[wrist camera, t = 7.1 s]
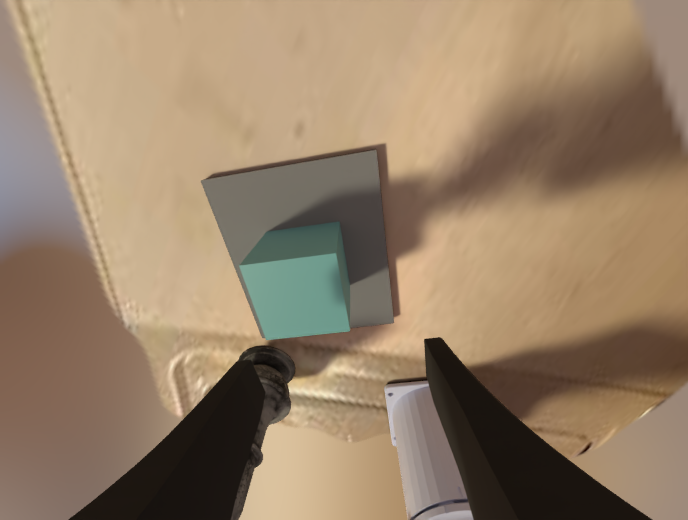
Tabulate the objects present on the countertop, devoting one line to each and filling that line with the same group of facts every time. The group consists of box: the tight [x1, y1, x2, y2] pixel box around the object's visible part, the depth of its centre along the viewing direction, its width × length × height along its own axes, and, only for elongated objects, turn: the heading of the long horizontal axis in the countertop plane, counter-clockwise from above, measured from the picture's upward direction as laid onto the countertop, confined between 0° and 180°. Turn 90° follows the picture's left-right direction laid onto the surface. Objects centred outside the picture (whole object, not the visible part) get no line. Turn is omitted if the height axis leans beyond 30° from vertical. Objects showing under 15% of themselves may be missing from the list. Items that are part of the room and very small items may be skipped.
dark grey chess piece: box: [231, 346, 295, 520], centre depth 19 cm, size 6×6×12 cm
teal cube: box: [239, 221, 350, 340], centre depth 16 cm, size 5×5×5 cm
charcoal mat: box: [201, 149, 394, 338], centre depth 19 cm, size 13×11×1 cm
